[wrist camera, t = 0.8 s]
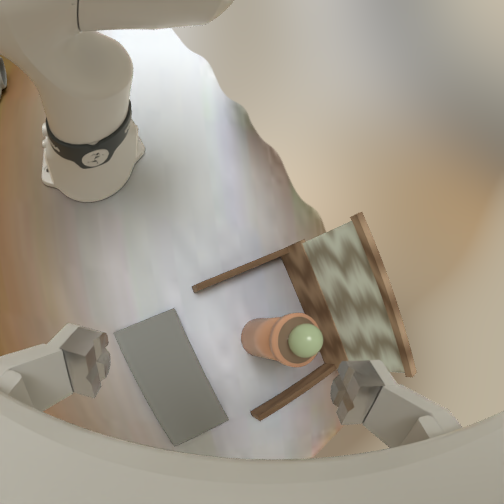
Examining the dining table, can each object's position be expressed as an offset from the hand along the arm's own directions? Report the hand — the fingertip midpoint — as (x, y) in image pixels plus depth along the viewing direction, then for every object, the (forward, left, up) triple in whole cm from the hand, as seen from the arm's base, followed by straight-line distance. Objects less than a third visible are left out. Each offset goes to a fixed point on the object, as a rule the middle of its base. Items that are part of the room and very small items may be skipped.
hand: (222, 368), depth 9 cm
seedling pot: (+8, +16, -35) cm, 39 cm away
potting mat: (+8, 0, -35) cm, 36 cm away
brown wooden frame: (+8, +18, -35) cm, 40 cm away
